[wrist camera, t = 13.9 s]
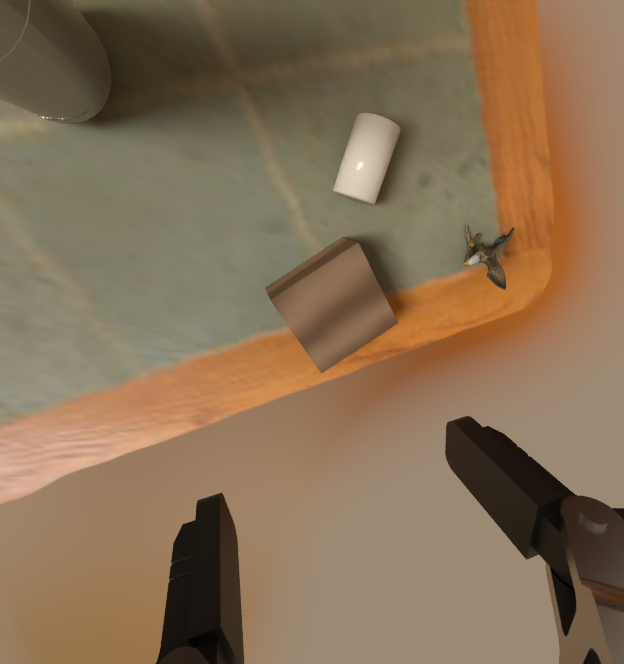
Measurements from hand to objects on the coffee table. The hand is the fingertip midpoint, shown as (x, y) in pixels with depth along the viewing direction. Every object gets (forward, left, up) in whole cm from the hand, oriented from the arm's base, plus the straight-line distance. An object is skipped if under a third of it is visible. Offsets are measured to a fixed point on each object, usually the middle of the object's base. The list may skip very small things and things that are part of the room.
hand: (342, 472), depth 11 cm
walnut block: (+5, +9, -34) cm, 36 cm away
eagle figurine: (+3, +31, -34) cm, 46 cm away
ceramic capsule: (-14, +17, -32) cm, 38 cm away
